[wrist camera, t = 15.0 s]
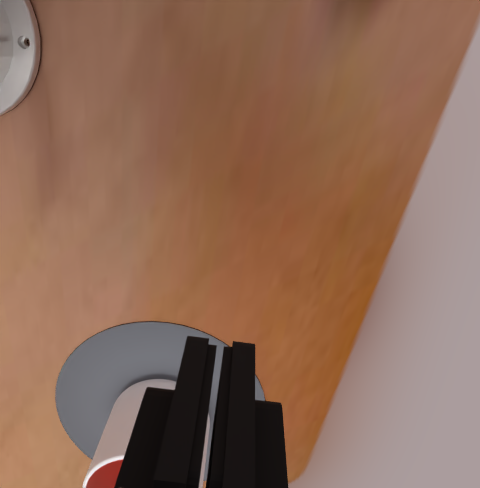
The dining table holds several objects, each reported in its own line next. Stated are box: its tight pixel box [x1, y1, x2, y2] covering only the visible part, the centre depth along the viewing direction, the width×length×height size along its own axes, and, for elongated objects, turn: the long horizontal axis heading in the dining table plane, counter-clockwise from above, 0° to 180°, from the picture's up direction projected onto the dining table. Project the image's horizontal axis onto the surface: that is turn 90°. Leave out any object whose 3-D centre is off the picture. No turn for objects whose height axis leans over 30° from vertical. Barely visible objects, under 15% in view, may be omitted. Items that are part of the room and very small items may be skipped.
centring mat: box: [55, 321, 265, 481], centre depth 47 cm, size 22×22×1 cm
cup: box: [83, 379, 210, 488], centre depth 42 cm, size 10×10×10 cm
